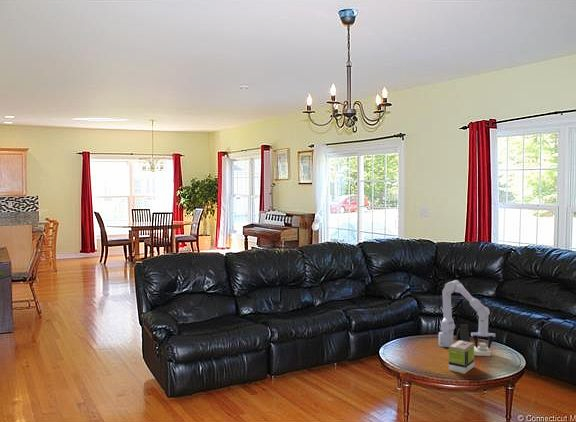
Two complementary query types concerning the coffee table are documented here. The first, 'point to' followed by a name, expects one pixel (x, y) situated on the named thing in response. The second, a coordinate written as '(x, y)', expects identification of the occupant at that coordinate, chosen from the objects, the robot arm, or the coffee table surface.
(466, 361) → the tea box
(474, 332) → the robot arm
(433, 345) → the coffee table surface
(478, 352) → the socket board
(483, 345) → the aluminium peg
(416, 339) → the coffee table surface
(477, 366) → the coffee table surface
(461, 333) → the door stopper
